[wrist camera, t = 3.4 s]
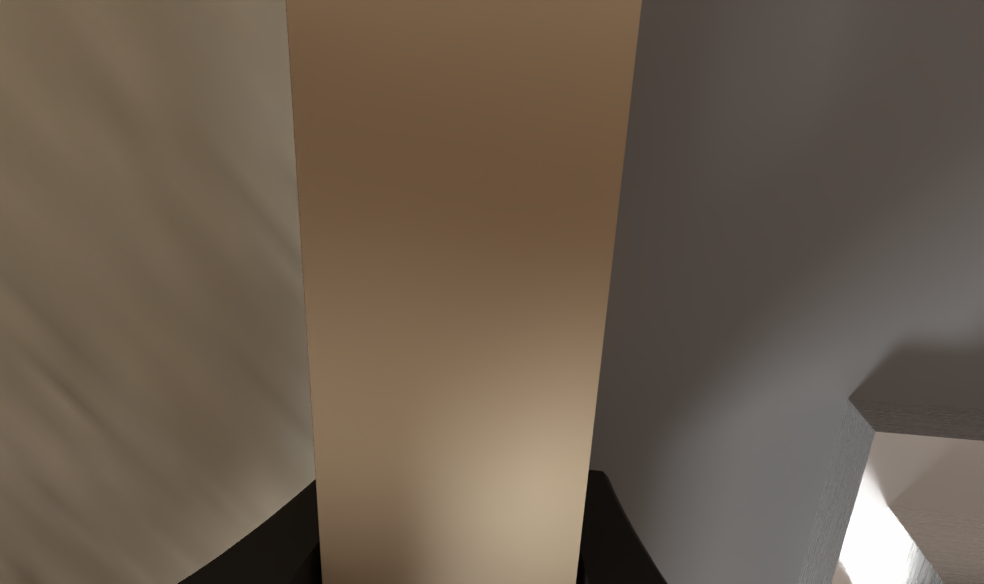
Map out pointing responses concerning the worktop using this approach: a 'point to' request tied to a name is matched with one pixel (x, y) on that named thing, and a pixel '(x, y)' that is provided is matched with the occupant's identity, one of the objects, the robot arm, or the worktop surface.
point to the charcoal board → (785, 261)
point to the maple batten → (456, 275)
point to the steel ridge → (901, 498)
